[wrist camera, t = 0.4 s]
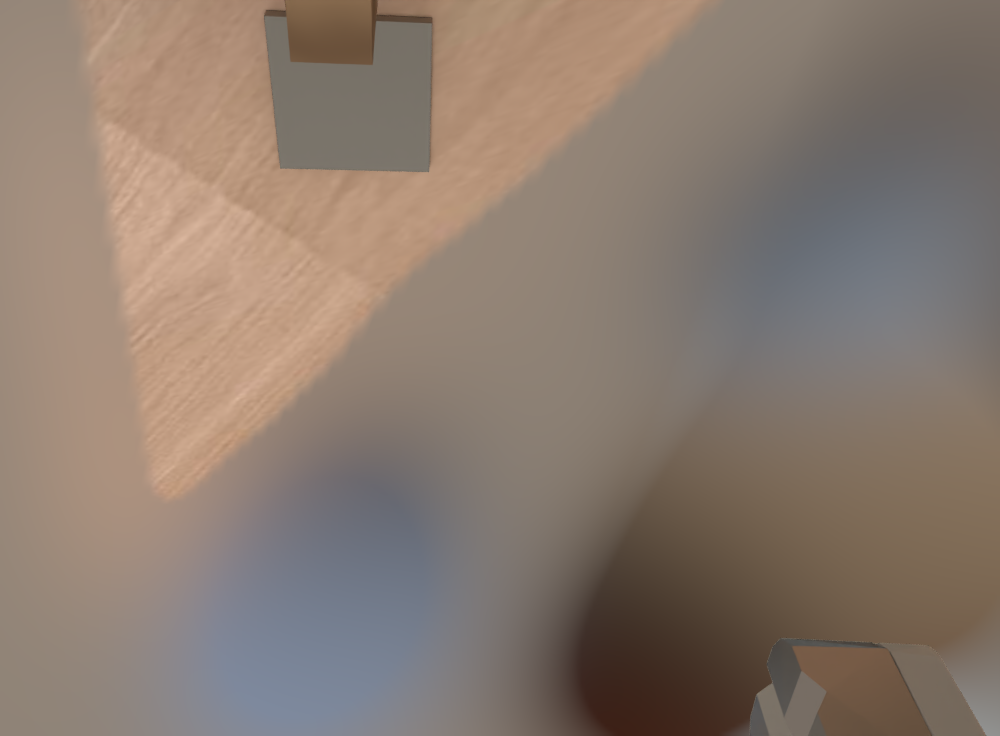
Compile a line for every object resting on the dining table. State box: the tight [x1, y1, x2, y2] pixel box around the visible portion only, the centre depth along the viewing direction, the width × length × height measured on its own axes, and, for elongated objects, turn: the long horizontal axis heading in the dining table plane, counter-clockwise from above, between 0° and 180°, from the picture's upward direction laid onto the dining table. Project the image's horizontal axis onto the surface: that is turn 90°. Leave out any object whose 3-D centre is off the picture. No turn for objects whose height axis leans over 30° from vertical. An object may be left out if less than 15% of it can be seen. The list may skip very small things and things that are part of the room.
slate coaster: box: [264, 10, 432, 172], centre depth 55 cm, size 10×10×1 cm
